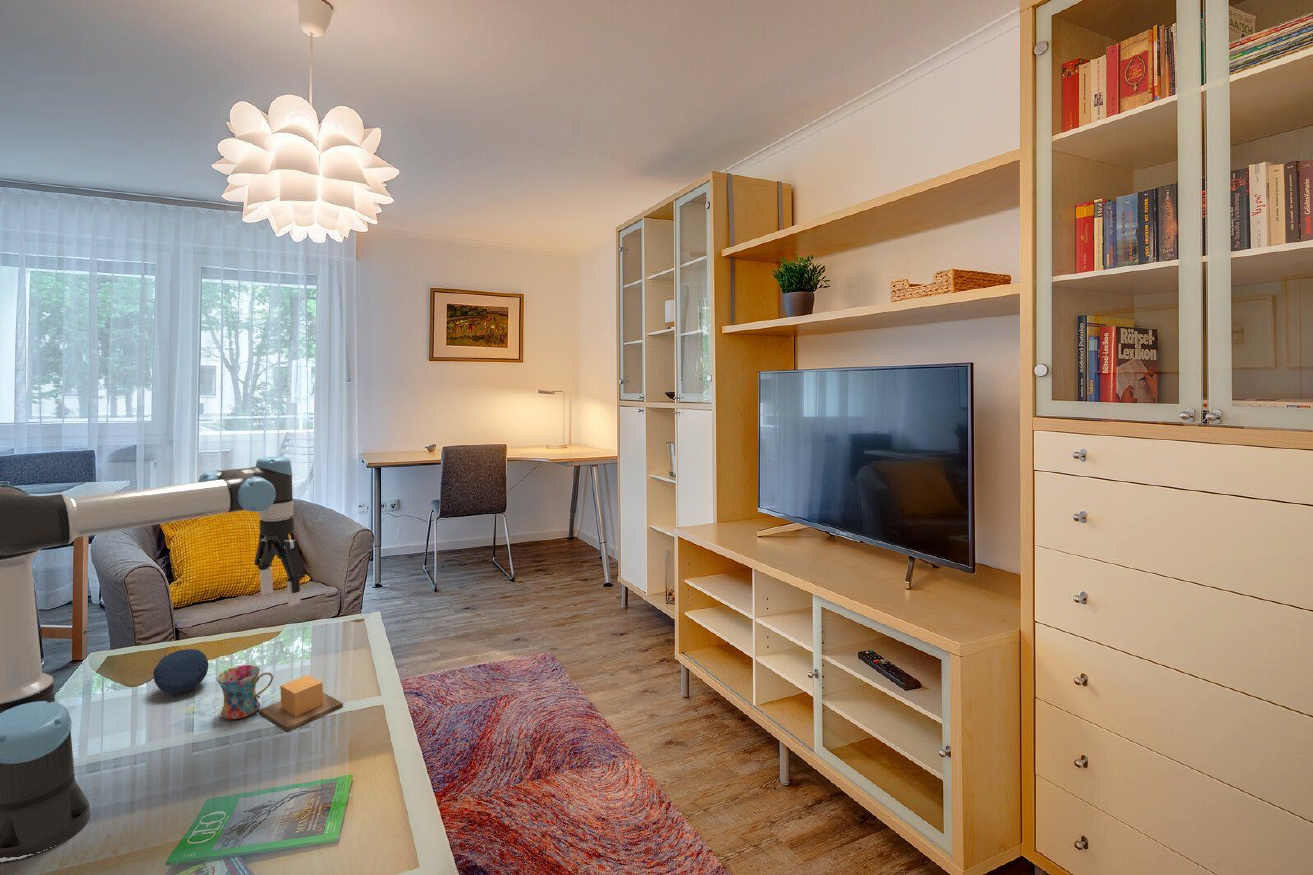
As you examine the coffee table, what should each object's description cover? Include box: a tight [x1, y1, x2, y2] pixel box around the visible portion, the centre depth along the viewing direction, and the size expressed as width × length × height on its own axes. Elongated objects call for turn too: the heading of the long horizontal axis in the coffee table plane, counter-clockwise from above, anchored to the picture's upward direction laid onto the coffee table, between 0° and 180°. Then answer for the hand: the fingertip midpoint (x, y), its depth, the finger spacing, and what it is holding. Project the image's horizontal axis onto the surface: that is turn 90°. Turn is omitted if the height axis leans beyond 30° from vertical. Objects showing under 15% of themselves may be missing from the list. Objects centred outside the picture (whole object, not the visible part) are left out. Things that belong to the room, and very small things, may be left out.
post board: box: [258, 692, 344, 732], centre depth 164 cm, size 14×14×6 cm
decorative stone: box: [153, 648, 209, 695], centre depth 173 cm, size 12×12×10 cm
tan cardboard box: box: [279, 674, 324, 716], centre depth 164 cm, size 7×7×6 cm
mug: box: [216, 664, 274, 720], centre depth 163 cm, size 12×9×11 cm
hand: (280, 598), depth 164 cm, fingers open, 13 cm apart
